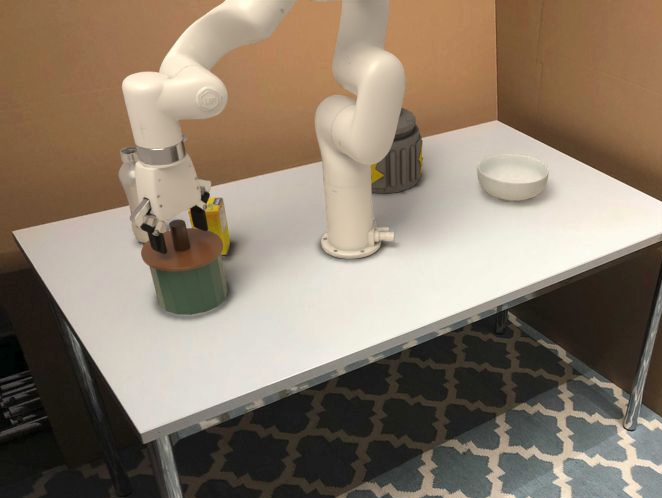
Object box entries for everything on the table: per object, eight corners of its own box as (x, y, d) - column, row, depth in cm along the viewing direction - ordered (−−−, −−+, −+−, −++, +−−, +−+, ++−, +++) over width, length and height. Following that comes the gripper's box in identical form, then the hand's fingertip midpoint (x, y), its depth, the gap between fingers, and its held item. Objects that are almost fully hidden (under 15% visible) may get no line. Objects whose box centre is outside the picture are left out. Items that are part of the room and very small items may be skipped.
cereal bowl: (557, 191, 187) (561, 164, 183) (525, 218, 176) (527, 190, 171) (498, 172, 194) (500, 146, 189) (462, 197, 183) (464, 169, 178)
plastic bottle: (159, 249, 159) (137, 159, 147) (129, 244, 160) (104, 155, 147) (174, 234, 164) (154, 145, 152) (145, 230, 165) (123, 141, 152)
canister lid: (231, 234, 146) (226, 205, 142) (213, 275, 135) (207, 244, 131) (155, 232, 145) (148, 203, 141) (131, 273, 134) (123, 242, 130)
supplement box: (202, 243, 162) (193, 196, 155) (231, 243, 162) (223, 196, 155) (197, 258, 157) (187, 211, 150) (227, 258, 157) (218, 211, 151)
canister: (234, 280, 151) (225, 233, 145) (219, 317, 142) (210, 269, 135) (169, 278, 151) (158, 232, 144) (150, 316, 141) (137, 268, 134)
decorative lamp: (356, 158, 197) (350, 37, 178) (428, 165, 196) (429, 44, 177) (336, 191, 182) (327, 63, 164) (414, 199, 181) (414, 71, 162)
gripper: (184, 128, 135) (201, 214, 146) (102, 163, 123) (127, 254, 134) (215, 138, 132) (230, 226, 143) (135, 175, 120) (158, 267, 131)
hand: (181, 239), depth 138 cm, fingers open, 9 cm apart
